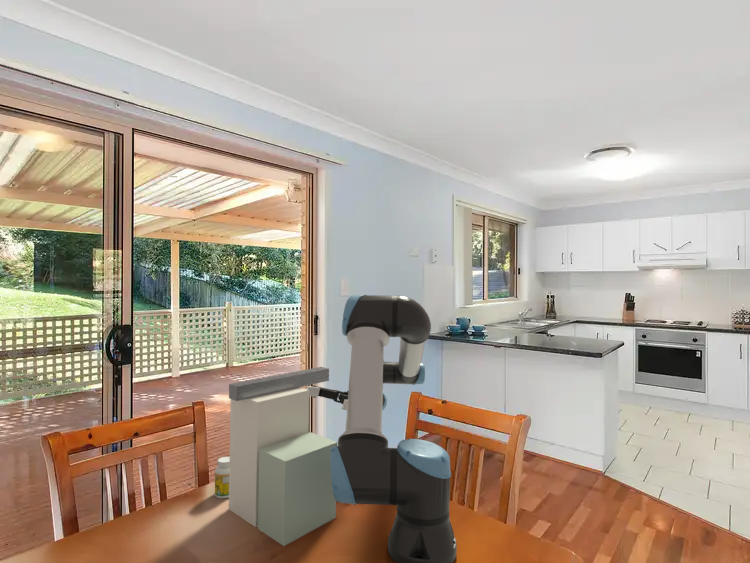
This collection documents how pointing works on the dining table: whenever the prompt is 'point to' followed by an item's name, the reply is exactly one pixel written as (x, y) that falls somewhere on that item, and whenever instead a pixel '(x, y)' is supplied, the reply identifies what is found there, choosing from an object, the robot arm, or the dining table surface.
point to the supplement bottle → (222, 478)
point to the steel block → (277, 383)
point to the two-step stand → (279, 466)
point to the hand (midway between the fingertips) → (324, 397)
